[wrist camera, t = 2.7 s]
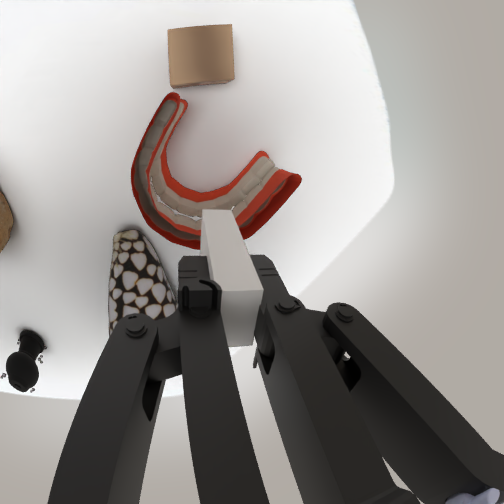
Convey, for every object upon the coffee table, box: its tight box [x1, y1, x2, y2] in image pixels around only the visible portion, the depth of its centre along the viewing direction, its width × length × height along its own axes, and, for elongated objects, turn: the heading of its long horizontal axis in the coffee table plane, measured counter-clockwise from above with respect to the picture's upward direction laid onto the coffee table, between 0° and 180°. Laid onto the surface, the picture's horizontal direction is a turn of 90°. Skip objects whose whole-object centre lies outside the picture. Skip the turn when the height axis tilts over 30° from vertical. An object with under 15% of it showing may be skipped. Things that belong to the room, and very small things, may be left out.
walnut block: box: [168, 24, 234, 89], centre depth 18 cm, size 5×5×5 cm
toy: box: [131, 92, 302, 250], centre depth 23 cm, size 12×10×8 cm
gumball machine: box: [1, 331, 47, 392], centre depth 28 cm, size 7×6×10 cm
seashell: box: [108, 230, 178, 337], centre depth 28 cm, size 16×13×10 cm
